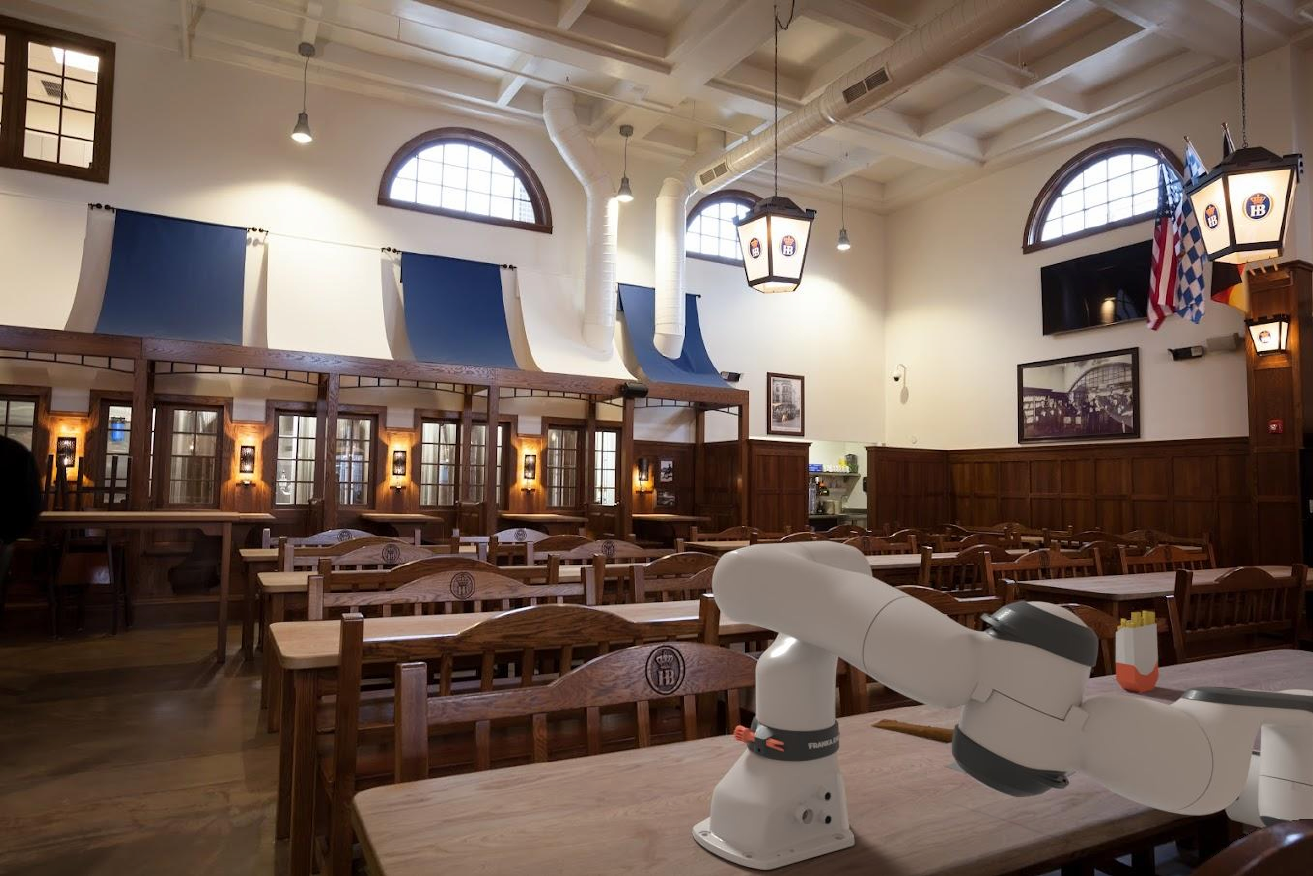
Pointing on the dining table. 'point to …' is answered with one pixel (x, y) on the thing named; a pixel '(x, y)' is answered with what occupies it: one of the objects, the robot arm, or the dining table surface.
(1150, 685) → the french fries container
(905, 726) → the primitive tool
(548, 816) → the dining table surface
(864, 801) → the dining table surface
